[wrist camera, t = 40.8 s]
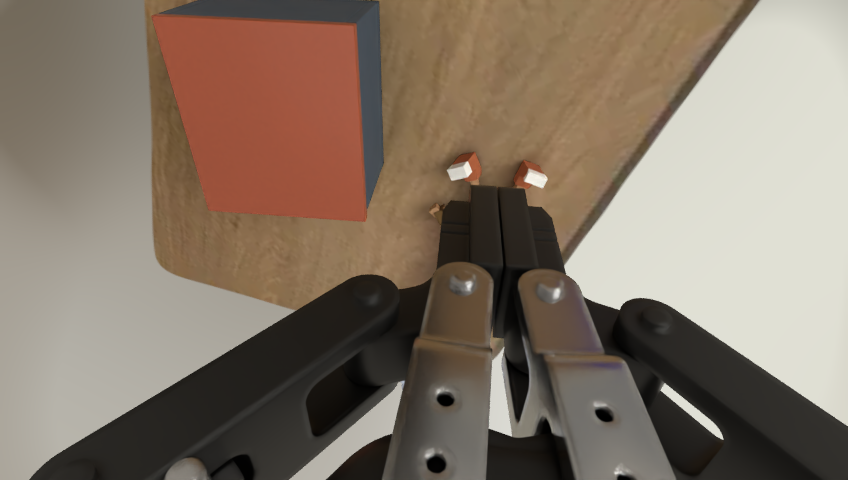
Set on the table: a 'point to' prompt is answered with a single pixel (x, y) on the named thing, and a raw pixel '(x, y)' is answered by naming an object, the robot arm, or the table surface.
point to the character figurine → (471, 171)
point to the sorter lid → (270, 112)
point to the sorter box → (328, 5)
